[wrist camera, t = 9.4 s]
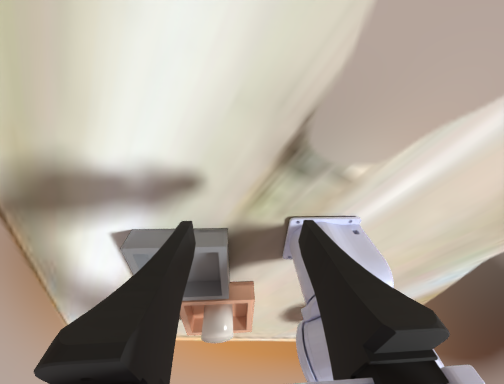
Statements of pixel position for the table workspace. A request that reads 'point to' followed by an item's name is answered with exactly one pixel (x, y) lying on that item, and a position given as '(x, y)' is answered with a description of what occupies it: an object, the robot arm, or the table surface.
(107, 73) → the table surface
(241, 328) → the dump bin
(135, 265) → the bin
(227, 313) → the white rounded cylinder
